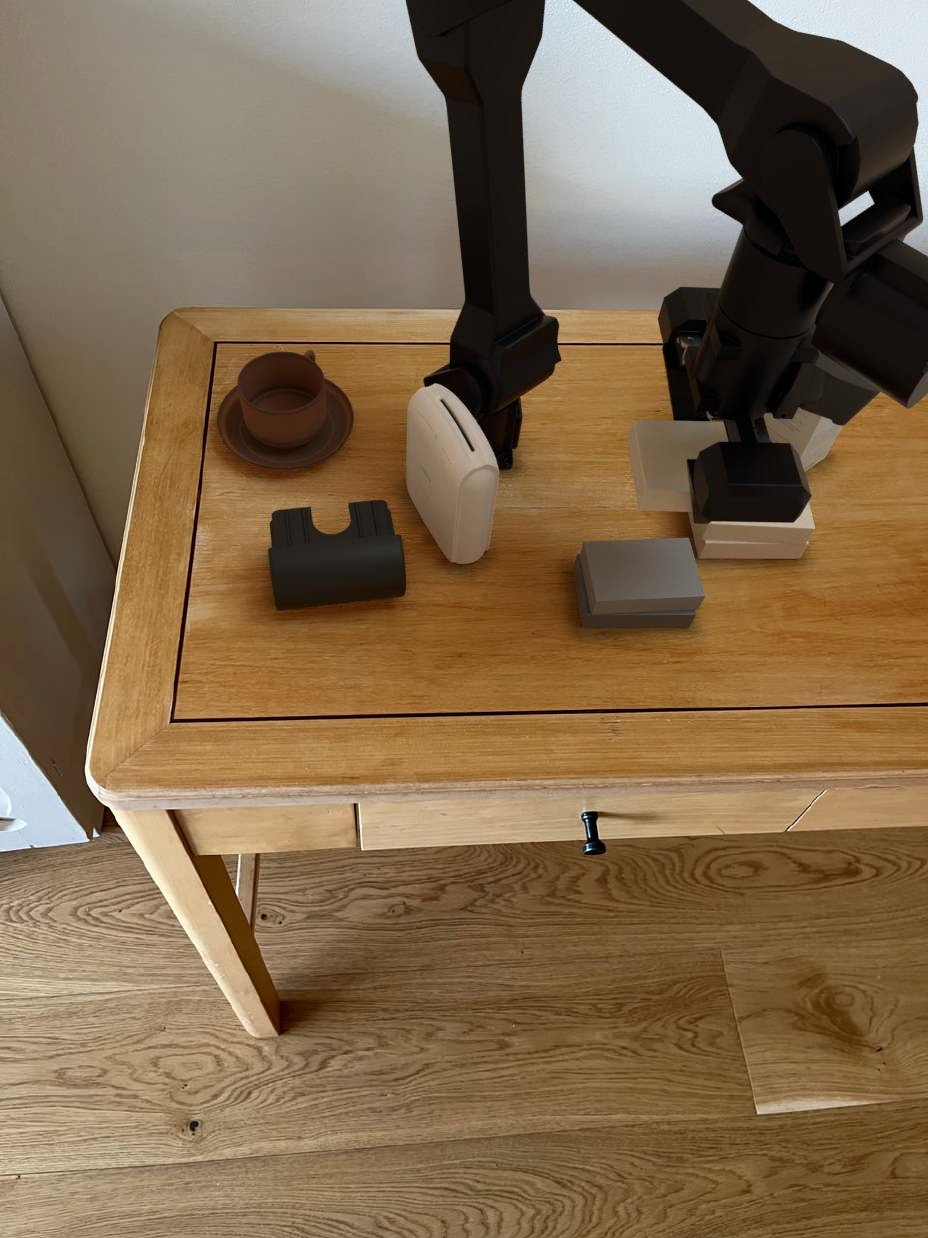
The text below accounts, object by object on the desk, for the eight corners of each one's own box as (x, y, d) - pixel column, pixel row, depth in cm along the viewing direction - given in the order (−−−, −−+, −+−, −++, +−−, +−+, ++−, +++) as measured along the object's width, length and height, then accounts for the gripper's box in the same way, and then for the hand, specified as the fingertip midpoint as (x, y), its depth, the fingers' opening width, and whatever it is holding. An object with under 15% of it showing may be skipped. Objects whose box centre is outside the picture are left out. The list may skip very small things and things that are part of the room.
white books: (694, 559, 79) (709, 527, 76) (681, 501, 83) (695, 468, 79) (800, 560, 80) (820, 528, 76) (782, 502, 84) (801, 469, 80)
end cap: (279, 631, 73) (270, 581, 67) (272, 558, 76) (263, 505, 71) (405, 615, 74) (407, 566, 69) (393, 545, 78) (393, 492, 72)
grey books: (580, 628, 75) (590, 600, 71) (572, 565, 78) (580, 536, 75) (692, 628, 75) (707, 600, 72) (679, 566, 79) (692, 537, 75)
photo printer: (398, 485, 82) (400, 378, 71) (442, 471, 83) (451, 364, 72) (449, 573, 77) (458, 472, 66) (495, 556, 78) (511, 455, 68)
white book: (638, 511, 64) (646, 490, 62) (626, 440, 67) (632, 418, 66) (768, 513, 64) (779, 492, 63) (749, 443, 68) (759, 422, 66)
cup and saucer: (230, 381, 87) (220, 328, 82) (358, 389, 88) (356, 337, 82) (210, 479, 80) (198, 428, 75) (349, 486, 81) (347, 436, 76)
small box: (825, 458, 87) (888, 349, 76) (782, 489, 84) (841, 381, 74) (760, 408, 90) (812, 296, 79) (717, 436, 88) (763, 324, 77)
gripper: (951, 426, 49) (833, 593, 62) (858, 213, 59) (773, 395, 72) (746, 421, 48) (670, 591, 61) (688, 206, 58) (633, 391, 71)
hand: (692, 484), depth 67 cm, fingers closed on white book, 6 cm apart
